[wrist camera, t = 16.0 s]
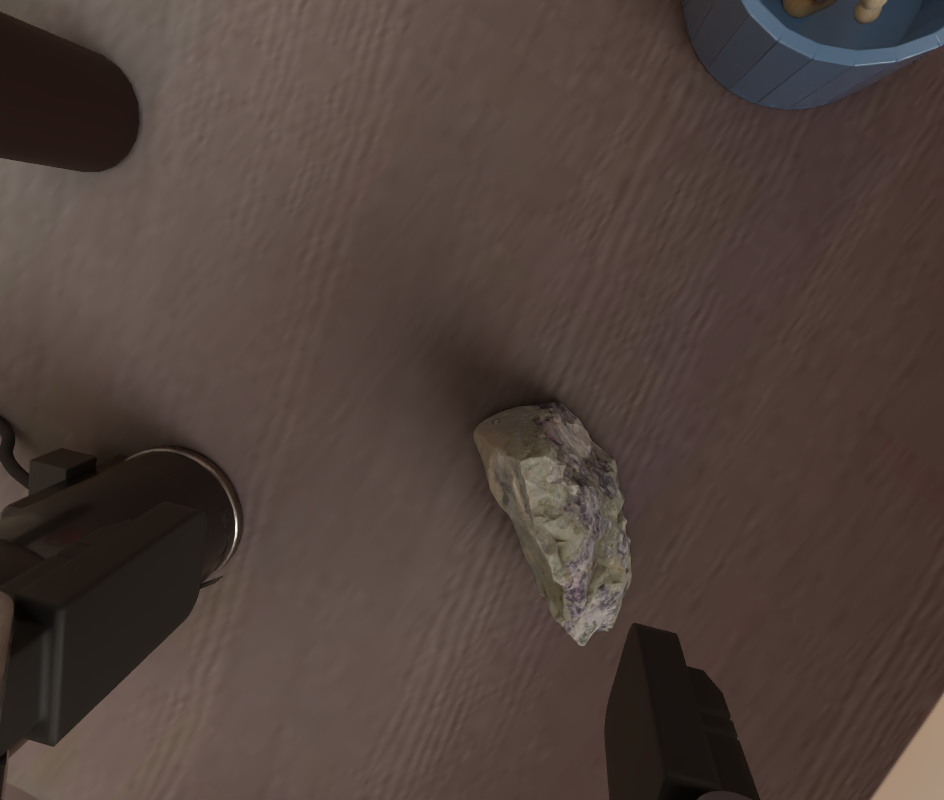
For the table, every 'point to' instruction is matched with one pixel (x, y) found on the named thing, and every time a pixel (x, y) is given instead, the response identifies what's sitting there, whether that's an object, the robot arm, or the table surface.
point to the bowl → (808, 47)
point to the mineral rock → (561, 511)
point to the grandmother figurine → (802, 3)
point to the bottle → (61, 102)
